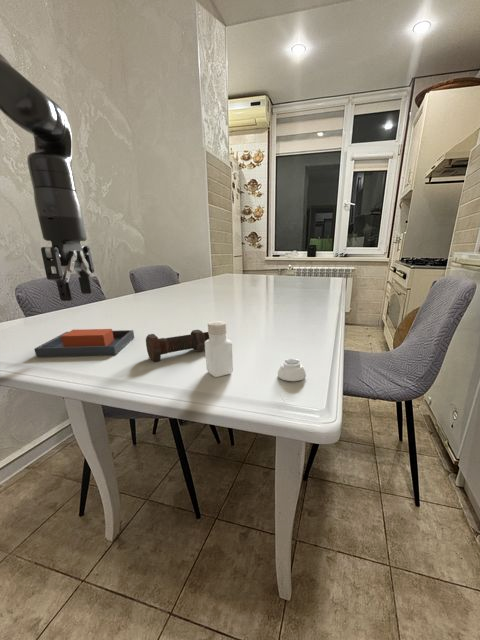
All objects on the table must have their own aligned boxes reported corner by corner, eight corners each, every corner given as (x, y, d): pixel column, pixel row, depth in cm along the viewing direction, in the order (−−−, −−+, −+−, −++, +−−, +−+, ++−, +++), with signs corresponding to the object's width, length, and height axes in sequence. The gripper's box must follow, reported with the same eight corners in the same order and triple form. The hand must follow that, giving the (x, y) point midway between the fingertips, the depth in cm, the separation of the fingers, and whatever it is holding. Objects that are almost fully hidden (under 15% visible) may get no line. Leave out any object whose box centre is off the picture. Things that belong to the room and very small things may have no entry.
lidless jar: (273, 380, 51) (301, 385, 49) (273, 364, 50) (302, 369, 48) (282, 369, 55) (308, 373, 53) (283, 355, 54) (309, 358, 52)
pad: (63, 348, 65) (60, 336, 64) (75, 341, 69) (72, 329, 68) (105, 347, 65) (103, 335, 64) (114, 340, 70) (112, 328, 69)
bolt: (218, 353, 68) (152, 366, 60) (209, 338, 70) (145, 349, 62) (223, 336, 64) (153, 347, 56) (214, 320, 66) (146, 329, 58)
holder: (36, 357, 61) (34, 348, 61) (68, 339, 73) (66, 331, 72) (115, 355, 62) (114, 346, 62) (134, 337, 74) (133, 330, 73)
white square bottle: (234, 373, 53) (232, 324, 50) (214, 379, 51) (210, 327, 48) (224, 366, 57) (222, 319, 53) (205, 371, 55) (201, 322, 51)
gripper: (61, 218, 64) (76, 291, 70) (15, 211, 51) (39, 303, 57) (96, 218, 65) (109, 291, 71) (60, 212, 52) (79, 303, 57)
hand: (77, 296), depth 64 cm, fingers open, 8 cm apart
